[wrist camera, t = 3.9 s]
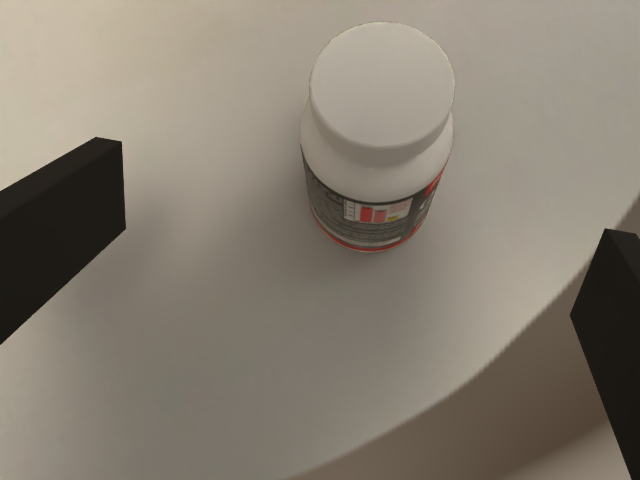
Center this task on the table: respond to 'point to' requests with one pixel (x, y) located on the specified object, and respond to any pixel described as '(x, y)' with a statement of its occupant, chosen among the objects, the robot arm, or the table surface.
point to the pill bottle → (376, 134)
